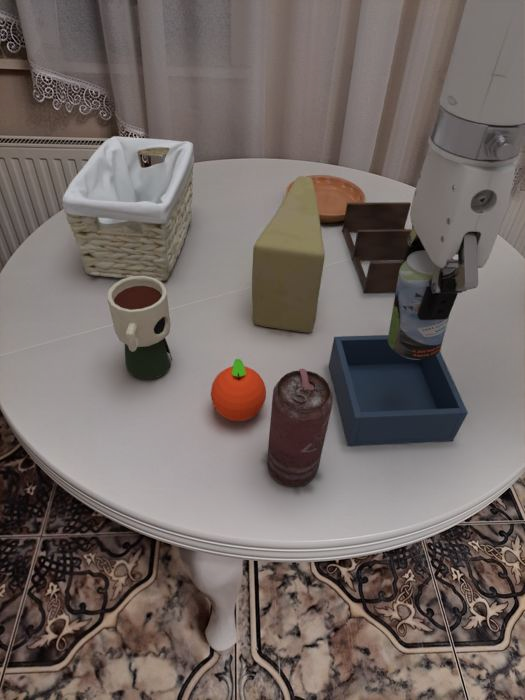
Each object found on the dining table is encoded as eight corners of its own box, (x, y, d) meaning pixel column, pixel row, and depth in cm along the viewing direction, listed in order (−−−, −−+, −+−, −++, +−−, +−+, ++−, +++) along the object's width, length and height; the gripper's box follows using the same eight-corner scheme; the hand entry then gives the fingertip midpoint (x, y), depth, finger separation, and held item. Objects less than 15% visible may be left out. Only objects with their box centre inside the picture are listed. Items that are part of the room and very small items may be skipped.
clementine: (211, 384, 69) (209, 347, 64) (262, 383, 70) (264, 346, 65) (211, 433, 63) (209, 396, 58) (267, 431, 64) (269, 394, 59)
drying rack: (402, 230, 99) (410, 202, 95) (433, 291, 85) (444, 262, 81) (342, 230, 98) (346, 202, 94) (363, 293, 84) (370, 263, 80)
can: (310, 439, 63) (324, 362, 53) (323, 484, 59) (341, 409, 49) (262, 445, 62) (268, 368, 53) (272, 491, 58) (280, 417, 48)
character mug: (167, 397, 67) (157, 324, 58) (114, 393, 67) (95, 320, 58) (181, 340, 75) (174, 268, 66) (133, 336, 75) (119, 264, 66)
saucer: (368, 229, 98) (371, 215, 96) (285, 226, 98) (287, 212, 96) (357, 189, 110) (360, 176, 108) (284, 186, 109) (285, 173, 107)
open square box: (420, 362, 74) (431, 333, 69) (453, 441, 64) (468, 412, 60) (328, 365, 72) (334, 336, 68) (347, 446, 63) (355, 417, 59)
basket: (119, 207, 101) (106, 132, 90) (200, 214, 100) (196, 139, 89) (77, 281, 84) (55, 199, 73) (175, 289, 83) (166, 208, 73)
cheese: (272, 246, 93) (277, 167, 82) (325, 253, 92) (337, 174, 81) (249, 326, 78) (252, 242, 67) (312, 335, 77) (325, 252, 66)
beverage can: (405, 374, 57) (433, 294, 48) (370, 331, 62) (390, 251, 53) (450, 357, 59) (485, 277, 50) (413, 317, 64) (439, 237, 55)
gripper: (571, 179, 37) (485, 352, 50) (481, 95, 49) (430, 251, 62) (473, 180, 37) (411, 354, 49) (406, 94, 49) (370, 252, 61)
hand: (422, 295), depth 56 cm, fingers closed on beverage can, 6 cm apart
